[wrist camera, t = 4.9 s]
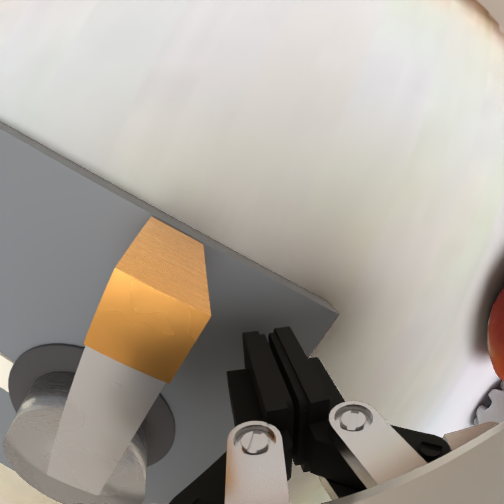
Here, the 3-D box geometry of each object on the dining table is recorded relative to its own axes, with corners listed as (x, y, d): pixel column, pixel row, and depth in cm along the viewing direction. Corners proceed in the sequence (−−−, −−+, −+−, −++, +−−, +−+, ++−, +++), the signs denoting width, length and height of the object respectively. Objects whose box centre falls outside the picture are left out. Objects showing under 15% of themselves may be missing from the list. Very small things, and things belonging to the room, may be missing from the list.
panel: (328, 302, 13) (341, 317, 12) (154, 511, 17) (154, 526, 15) (-16, 112, 9) (-35, 110, 7) (-54, 410, 12) (-62, 422, 10)
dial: (127, 472, 13) (121, 547, 8) (23, 426, 11) (-5, 495, 7) (257, 273, 11) (300, 355, 6) (97, 186, 9) (21, 213, 5)
